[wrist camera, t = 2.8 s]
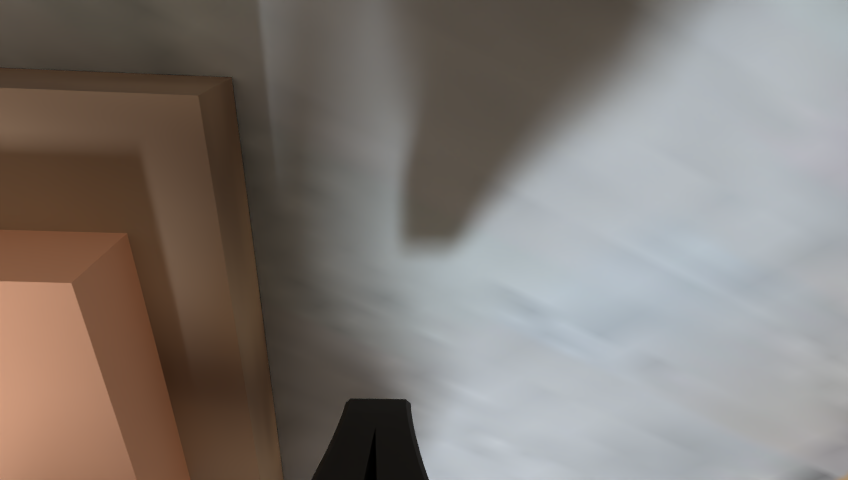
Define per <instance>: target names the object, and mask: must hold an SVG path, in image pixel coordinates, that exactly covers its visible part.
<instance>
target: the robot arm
mask: <svg viewBox="0 0 848 480" xmlns="http://www.w3.org/2000/svg"><path fill="white" fill-rule="evenodd" d="M312 480H429V479H428V476H427V473H426V470H425V467H424V464H423V461H422V458H421V454H420V451H419V447H418V443H417V439H416V435H415V431H414V426H413V421H412V414H411V403H409V402H408V401H407V400H406V399H350V400H348V401H347V402H346V404H345V407H344V411H343V413H342V416H341V419H340V421H339V424H338V426H337V429H336V431H335V433H334V436H333V438H332V440H331V442H330V444H329V446H328V449H327V451H326V453H325V455H324V457H323V459H322V461H321V462H320V464H319V466H318V468H317V470H316V472H315V474H314V476H313V478H312Z"/></svg>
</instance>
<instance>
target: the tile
mask: <svg viewBox="0 0 848 480" xmlns="http://www.w3.org/2000/svg"><path fill="white" fill-rule="evenodd" d="M0 480H190V476H189V472H188V468H187V464H186V460H185V456H184V452H183V448H182V445H181V441H180V437H179V433H178V429H177V425H176V421H175V417H174V413H173V410H172V406H171V402H170V398H169V394H168V390H167V386H166V382H165V379H164V375H163V371H162V367H161V363H160V359H159V355H158V351H157V347H156V344H155V340H154V336H153V332H152V328H151V324H150V320H149V316H148V313H147V309H146V305H145V301H144V297H143V293H142V289H141V285H140V281H139V278H138V274H137V270H136V266H135V262H134V258H133V254H132V250H131V247H130V243H129V239H128V235H127V233H101V232H65V231H30V230H0Z"/></svg>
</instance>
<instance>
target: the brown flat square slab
mask: <svg viewBox="0 0 848 480" xmlns="http://www.w3.org/2000/svg"><path fill="white" fill-rule="evenodd" d="M0 230H30V231H65V232H101V233H127V235H128V239H129V243H130V247H131V250H132V254H133V258H134V262H135V266H136V270H137V274H138V278H139V281H140V285H141V289H142V293H143V297H144V301H145V305H146V309H147V313H148V316H149V320H150V324H151V328H152V332H153V336H154V340H155V344H156V347H157V351H158V355H159V359H160V363H161V367H162V371H163V375H164V379H165V382H166V386H167V390H168V394H169V398H170V402H171V406H172V410H173V413H174V417H175V421H176V425H177V429H178V433H179V437H180V441H181V445H182V448H183V452H184V456H185V460H186V464H187V468H188V472H189V476H190V480H284V479H283V471H282V464H281V456H280V448H279V440H278V433H277V425H276V417H275V409H274V402H273V394H272V386H271V378H270V370H269V363H268V355H267V347H266V339H265V332H264V324H263V316H262V308H261V301H260V293H259V285H258V277H257V270H256V262H255V254H254V246H253V238H252V231H251V223H250V215H249V207H248V200H247V192H246V184H245V176H244V169H243V161H242V153H241V145H240V138H239V130H238V122H237V114H236V107H235V99H234V91H233V83H232V77H212V76H187V75H163V74H138V73H114V72H89V71H65V70H40V69H16V68H0Z"/></svg>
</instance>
